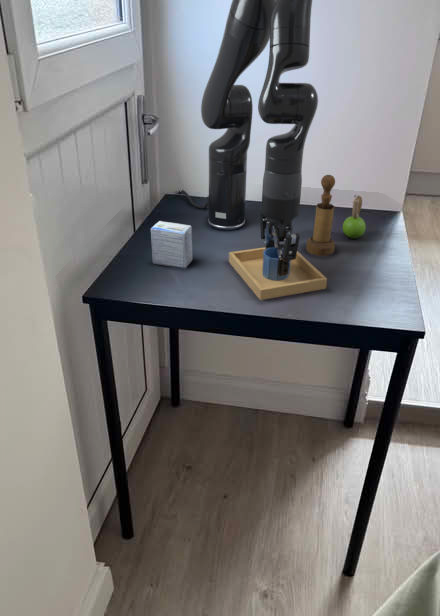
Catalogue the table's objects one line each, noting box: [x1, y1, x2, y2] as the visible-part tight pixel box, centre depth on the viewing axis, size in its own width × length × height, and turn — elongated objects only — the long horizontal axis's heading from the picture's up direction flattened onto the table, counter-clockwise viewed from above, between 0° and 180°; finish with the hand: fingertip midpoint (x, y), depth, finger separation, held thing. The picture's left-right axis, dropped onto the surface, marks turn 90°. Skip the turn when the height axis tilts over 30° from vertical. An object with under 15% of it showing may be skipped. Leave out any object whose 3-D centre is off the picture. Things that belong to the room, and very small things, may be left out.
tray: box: [228, 246, 328, 301], centre depth 119 cm, size 18×15×3 cm
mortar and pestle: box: [305, 174, 336, 257], centre depth 126 cm, size 7×6×18 cm
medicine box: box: [150, 220, 193, 269], centre depth 122 cm, size 8×4×9 cm, turn 71°
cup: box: [262, 247, 291, 281], centre depth 118 cm, size 6×6×5 cm
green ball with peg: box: [342, 194, 367, 239], centre depth 134 cm, size 5×6×12 cm
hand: (276, 267), depth 119 cm, fingers closed on cup, 5 cm apart
